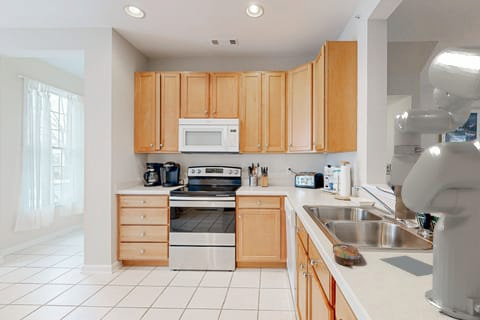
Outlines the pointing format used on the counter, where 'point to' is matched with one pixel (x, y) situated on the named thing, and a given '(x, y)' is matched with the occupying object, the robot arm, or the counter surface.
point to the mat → (410, 265)
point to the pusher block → (403, 208)
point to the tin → (346, 254)
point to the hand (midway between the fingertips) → (406, 207)
